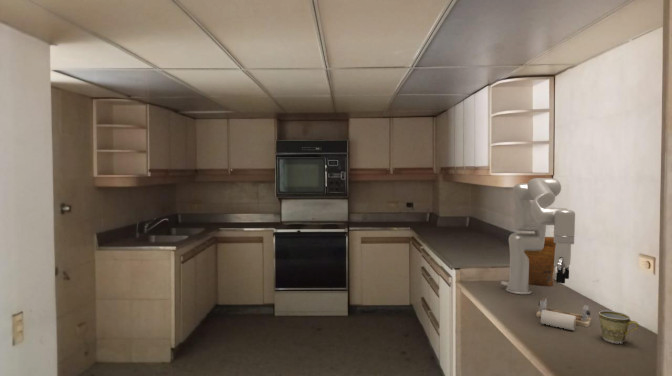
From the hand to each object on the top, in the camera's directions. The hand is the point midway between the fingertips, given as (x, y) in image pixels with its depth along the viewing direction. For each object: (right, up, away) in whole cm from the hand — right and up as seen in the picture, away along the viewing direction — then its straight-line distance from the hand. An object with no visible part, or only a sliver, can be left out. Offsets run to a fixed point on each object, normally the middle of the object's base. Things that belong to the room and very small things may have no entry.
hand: (562, 280), depth 178 cm
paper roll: (-2, -19, 0) cm, 19 cm away
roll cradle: (+5, -19, +10) cm, 22 cm away
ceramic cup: (+13, -20, -15) cm, 28 cm away
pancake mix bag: (+21, -17, +67) cm, 72 cm away
